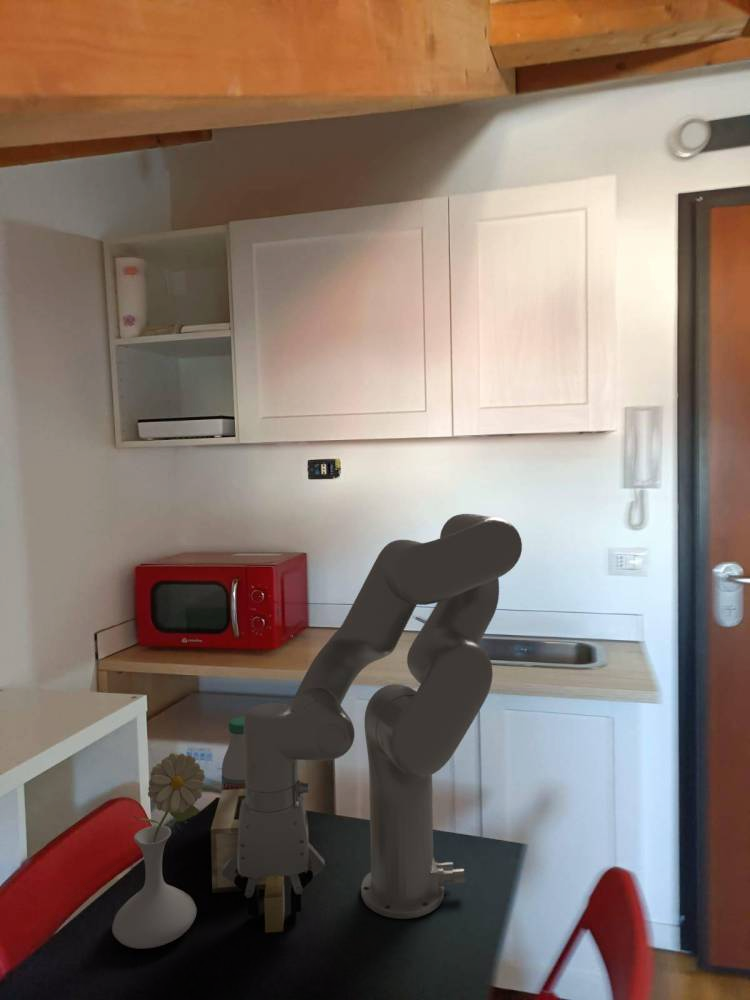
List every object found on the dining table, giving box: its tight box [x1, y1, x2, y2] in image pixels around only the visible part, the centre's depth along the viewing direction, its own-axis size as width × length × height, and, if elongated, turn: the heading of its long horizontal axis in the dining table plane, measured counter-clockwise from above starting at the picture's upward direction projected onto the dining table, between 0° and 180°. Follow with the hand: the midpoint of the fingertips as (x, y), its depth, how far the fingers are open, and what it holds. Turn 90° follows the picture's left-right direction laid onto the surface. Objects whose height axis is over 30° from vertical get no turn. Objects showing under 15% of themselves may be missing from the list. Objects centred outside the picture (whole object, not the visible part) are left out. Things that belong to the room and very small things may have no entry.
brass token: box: [263, 875, 286, 933], centre depth 98 cm, size 2×5×5 cm, turn 5°
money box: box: [210, 789, 276, 894], centre depth 111 cm, size 10×13×10 cm
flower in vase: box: [111, 752, 206, 950], centre depth 96 cm, size 13×11×25 cm
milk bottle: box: [221, 716, 245, 791], centre depth 123 cm, size 8×8×20 cm
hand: (275, 915), depth 98 cm, fingers open, 4 cm apart
